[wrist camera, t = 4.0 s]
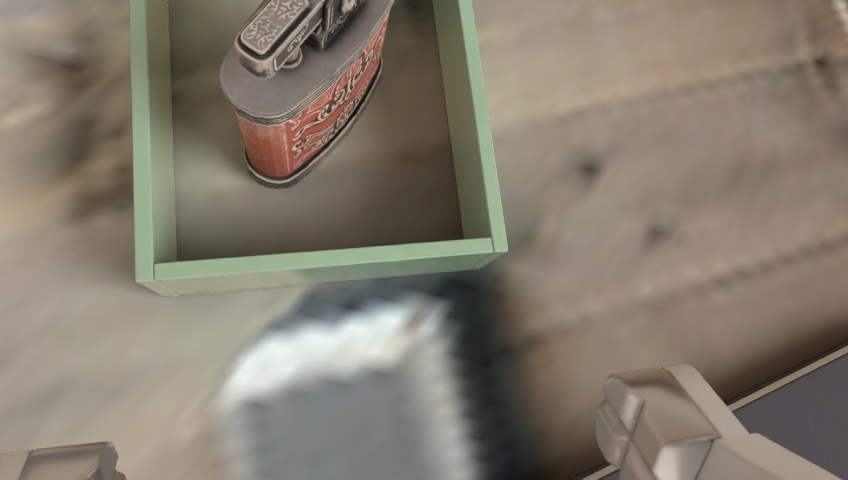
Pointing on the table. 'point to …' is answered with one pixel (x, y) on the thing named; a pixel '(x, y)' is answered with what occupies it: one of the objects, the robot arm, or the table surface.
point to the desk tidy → (311, 267)
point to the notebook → (794, 414)
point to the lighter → (302, 81)
